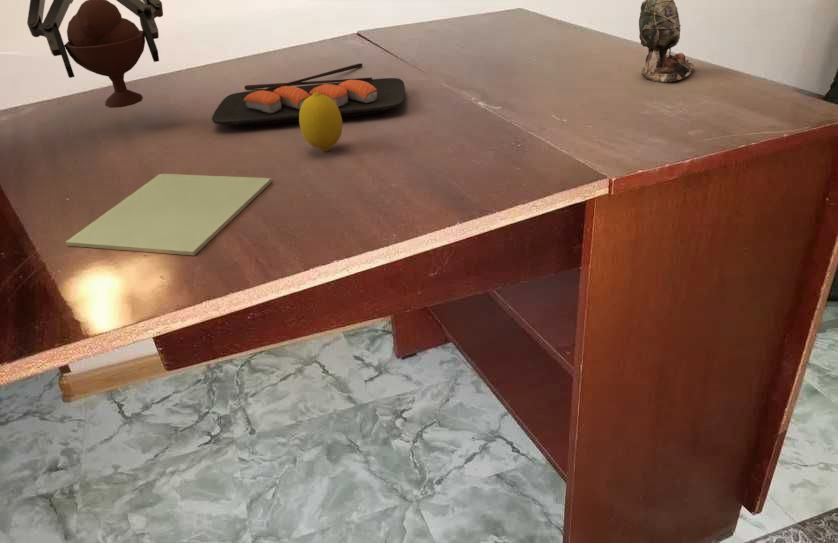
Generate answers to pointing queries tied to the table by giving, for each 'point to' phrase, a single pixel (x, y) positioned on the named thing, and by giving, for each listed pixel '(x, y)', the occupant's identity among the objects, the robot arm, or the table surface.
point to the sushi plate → (286, 100)
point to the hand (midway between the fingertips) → (113, 64)
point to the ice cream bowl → (106, 46)
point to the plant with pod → (662, 41)
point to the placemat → (171, 214)
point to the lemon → (320, 121)
